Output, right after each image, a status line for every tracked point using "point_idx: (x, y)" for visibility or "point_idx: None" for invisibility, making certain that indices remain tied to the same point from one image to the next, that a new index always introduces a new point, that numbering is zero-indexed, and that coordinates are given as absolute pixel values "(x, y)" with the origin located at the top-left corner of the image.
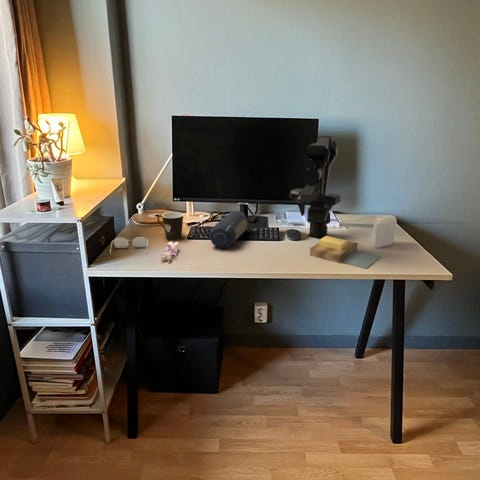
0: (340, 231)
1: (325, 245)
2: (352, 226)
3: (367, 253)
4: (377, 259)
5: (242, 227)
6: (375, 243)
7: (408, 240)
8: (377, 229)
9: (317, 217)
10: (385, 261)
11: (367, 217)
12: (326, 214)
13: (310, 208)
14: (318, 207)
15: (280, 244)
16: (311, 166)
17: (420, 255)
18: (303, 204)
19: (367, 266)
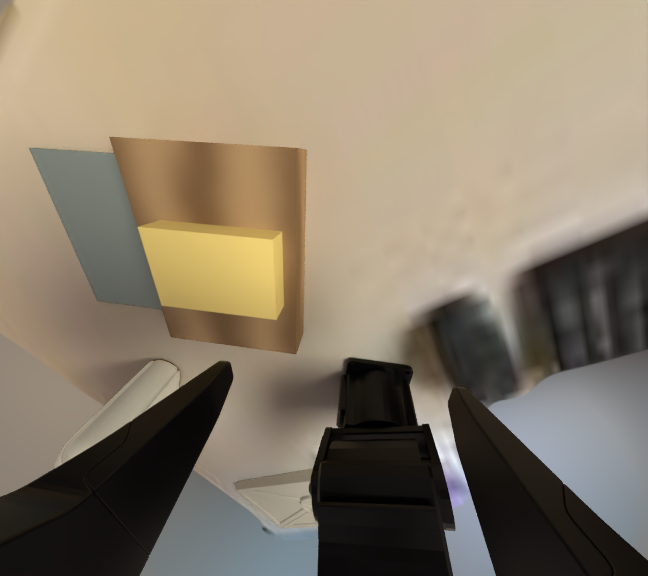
0: (320, 435)
1: (241, 228)
2: (307, 470)
3: (140, 300)
4: (85, 268)
5: None
6: (152, 370)
7: None
8: (103, 419)
9: (369, 449)
10: (61, 267)
11: (294, 517)
12: (163, 410)
13: (432, 521)
14: (372, 537)
15: (517, 216)
16: None
17: (50, 357)
18: (524, 574)
19: (41, 168)
